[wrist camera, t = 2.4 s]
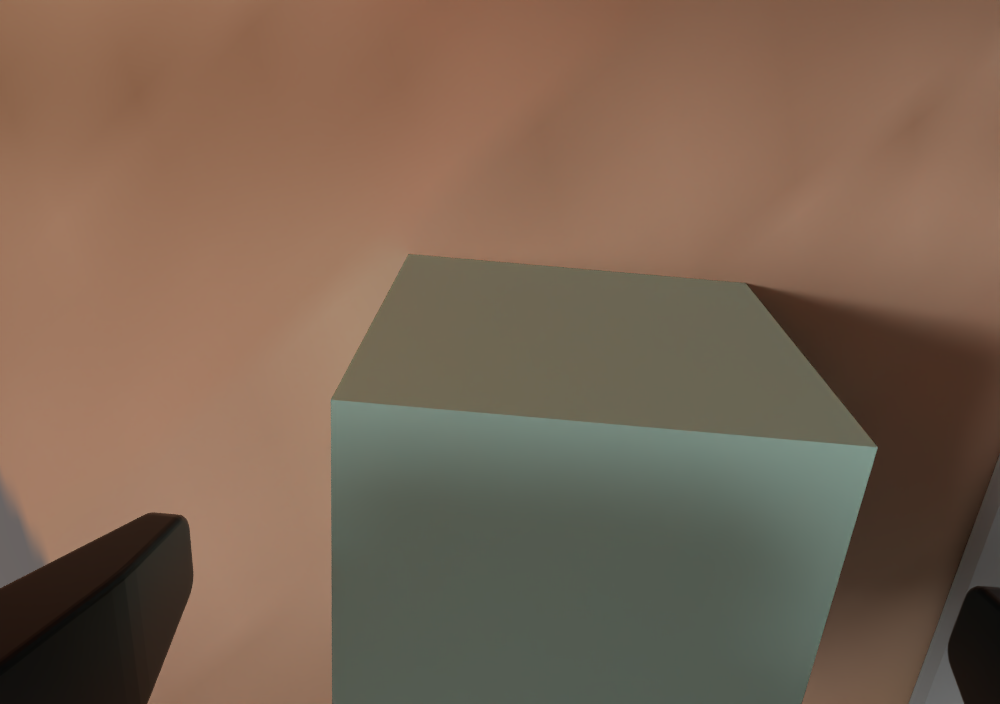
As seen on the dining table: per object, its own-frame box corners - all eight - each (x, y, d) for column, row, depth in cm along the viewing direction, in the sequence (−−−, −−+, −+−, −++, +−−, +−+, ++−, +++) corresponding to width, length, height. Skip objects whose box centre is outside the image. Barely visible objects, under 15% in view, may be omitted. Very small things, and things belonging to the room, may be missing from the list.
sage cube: (688, 557, 14) (765, 826, 9) (399, 532, 14) (332, 787, 9) (744, 282, 12) (877, 447, 7) (409, 252, 12) (331, 400, 7)
